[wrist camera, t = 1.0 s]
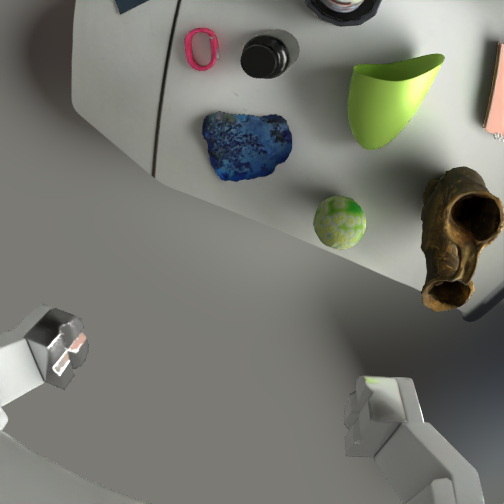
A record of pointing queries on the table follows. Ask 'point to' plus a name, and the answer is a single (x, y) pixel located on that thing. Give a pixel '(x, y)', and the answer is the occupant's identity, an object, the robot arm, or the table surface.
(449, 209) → the pottery vessel
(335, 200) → the decorative ball
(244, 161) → the rock
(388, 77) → the green hollow scoop
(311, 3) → the stand
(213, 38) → the fitness band
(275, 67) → the supplement bottle
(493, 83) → the notebook
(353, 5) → the beverage can
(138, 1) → the rubber pad
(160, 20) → the table surface
